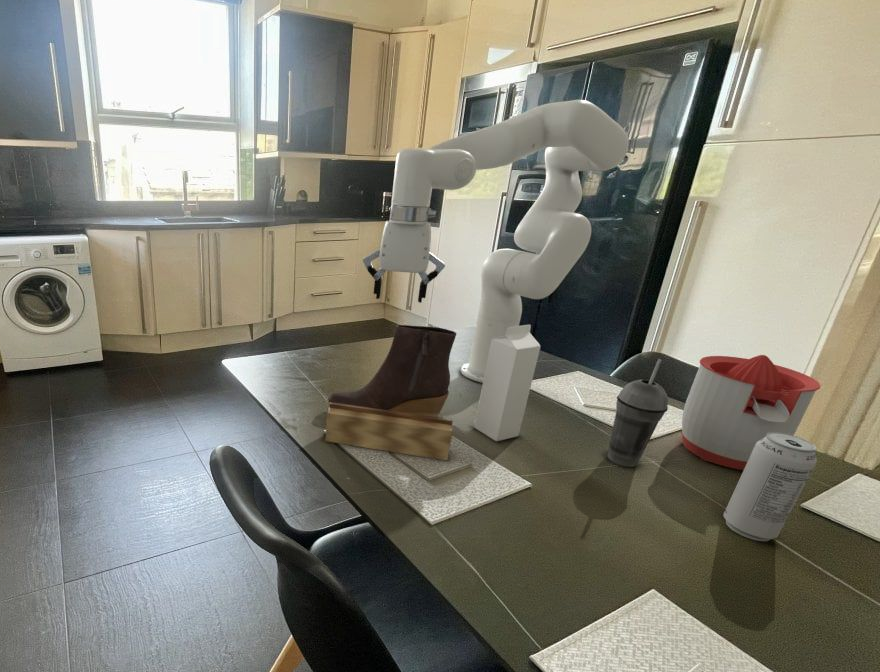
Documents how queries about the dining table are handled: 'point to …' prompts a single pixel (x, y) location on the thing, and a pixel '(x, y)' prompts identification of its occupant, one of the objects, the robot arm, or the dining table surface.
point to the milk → (507, 383)
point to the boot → (408, 374)
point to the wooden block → (389, 430)
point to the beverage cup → (636, 419)
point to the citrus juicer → (742, 406)
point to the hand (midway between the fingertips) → (398, 299)
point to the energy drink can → (770, 485)
